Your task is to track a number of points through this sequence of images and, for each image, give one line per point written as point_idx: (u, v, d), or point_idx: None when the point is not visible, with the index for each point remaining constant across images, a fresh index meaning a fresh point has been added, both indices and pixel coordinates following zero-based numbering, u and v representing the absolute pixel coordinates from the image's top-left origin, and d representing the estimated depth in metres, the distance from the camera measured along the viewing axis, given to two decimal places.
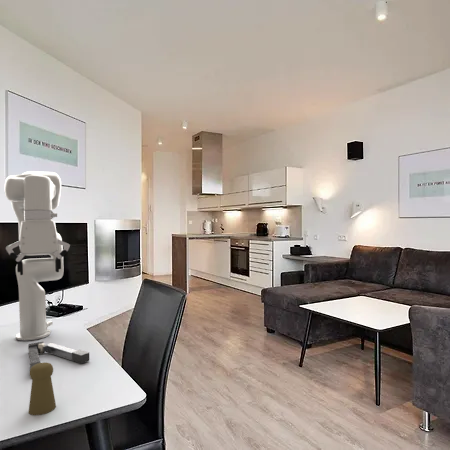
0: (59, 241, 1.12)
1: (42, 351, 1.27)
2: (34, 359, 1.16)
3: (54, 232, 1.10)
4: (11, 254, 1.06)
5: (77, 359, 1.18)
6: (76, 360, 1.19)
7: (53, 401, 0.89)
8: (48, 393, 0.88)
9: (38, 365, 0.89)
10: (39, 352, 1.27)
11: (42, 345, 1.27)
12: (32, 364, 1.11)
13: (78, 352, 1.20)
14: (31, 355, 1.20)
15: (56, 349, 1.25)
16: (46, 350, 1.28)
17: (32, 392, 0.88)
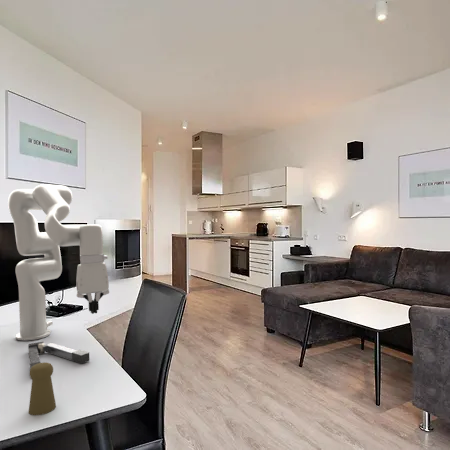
0: None
1: (42, 351, 1.27)
2: (34, 359, 1.16)
3: (106, 273, 1.27)
4: (84, 296, 1.24)
5: (77, 359, 1.18)
6: (76, 360, 1.19)
7: (53, 401, 0.89)
8: (48, 393, 0.88)
9: (38, 365, 0.89)
10: (39, 352, 1.27)
11: (42, 345, 1.27)
12: (32, 364, 1.11)
13: (78, 352, 1.20)
14: (31, 355, 1.20)
15: (56, 349, 1.25)
16: (46, 350, 1.28)
17: (32, 392, 0.88)
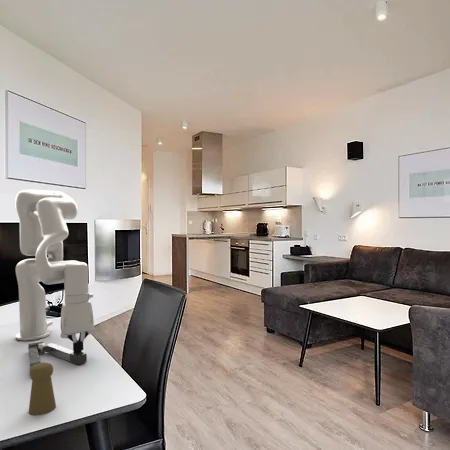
0: None
1: (42, 351, 1.27)
2: (34, 359, 1.16)
3: (91, 312, 1.24)
4: (69, 336, 1.21)
5: (75, 360, 1.17)
6: (73, 361, 1.18)
7: (53, 401, 0.89)
8: (48, 393, 0.88)
9: (38, 365, 0.89)
10: (39, 352, 1.27)
11: (42, 345, 1.27)
12: (32, 364, 1.11)
13: (76, 353, 1.19)
14: (31, 355, 1.20)
15: (55, 349, 1.25)
16: (46, 350, 1.28)
17: (32, 392, 0.88)
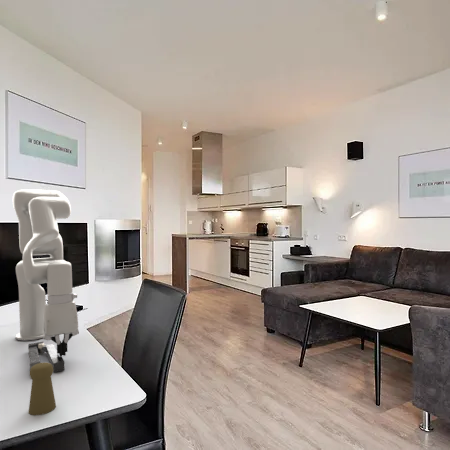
0: None
1: (41, 351, 1.27)
2: (34, 359, 1.16)
3: (75, 313, 1.21)
4: (52, 338, 1.18)
5: None
6: None
7: (53, 401, 0.89)
8: (48, 393, 0.88)
9: (38, 365, 0.89)
10: (38, 352, 1.27)
11: (41, 345, 1.27)
12: (32, 364, 1.11)
13: (56, 359, 1.14)
14: (31, 355, 1.20)
15: (48, 352, 1.23)
16: (45, 351, 1.27)
17: (32, 392, 0.88)
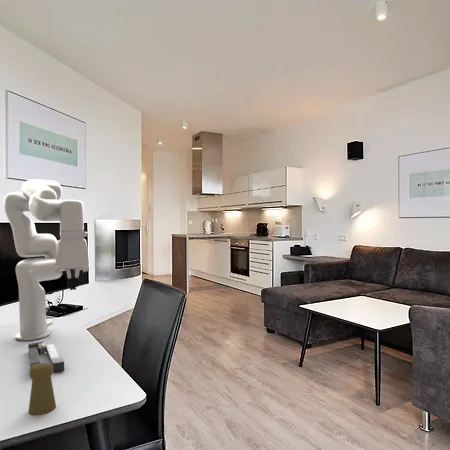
0: None
1: (41, 351, 1.27)
2: (34, 359, 1.16)
3: (86, 250, 1.25)
4: (63, 272, 1.23)
5: None
6: None
7: (53, 401, 0.89)
8: (48, 393, 0.88)
9: (38, 365, 0.89)
10: (38, 352, 1.27)
11: (41, 345, 1.27)
12: (32, 364, 1.11)
13: (56, 359, 1.14)
14: (31, 355, 1.20)
15: (48, 352, 1.23)
16: (45, 351, 1.27)
17: (32, 392, 0.88)
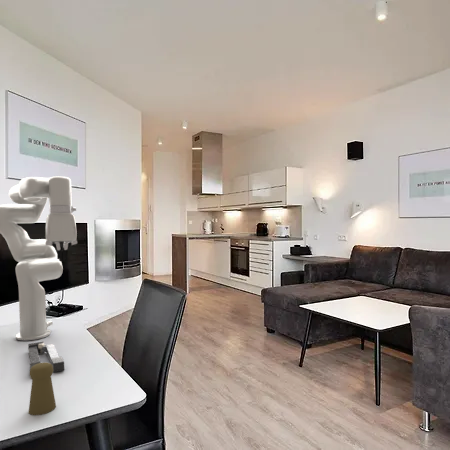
0: None
1: (41, 351, 1.27)
2: (34, 359, 1.16)
3: (74, 223, 1.33)
4: (53, 244, 1.30)
5: None
6: None
7: (53, 401, 0.89)
8: (48, 393, 0.88)
9: (38, 365, 0.89)
10: (38, 352, 1.27)
11: (41, 345, 1.27)
12: (32, 364, 1.11)
13: (56, 359, 1.14)
14: (31, 355, 1.20)
15: (48, 352, 1.23)
16: (45, 351, 1.27)
17: (32, 392, 0.88)
